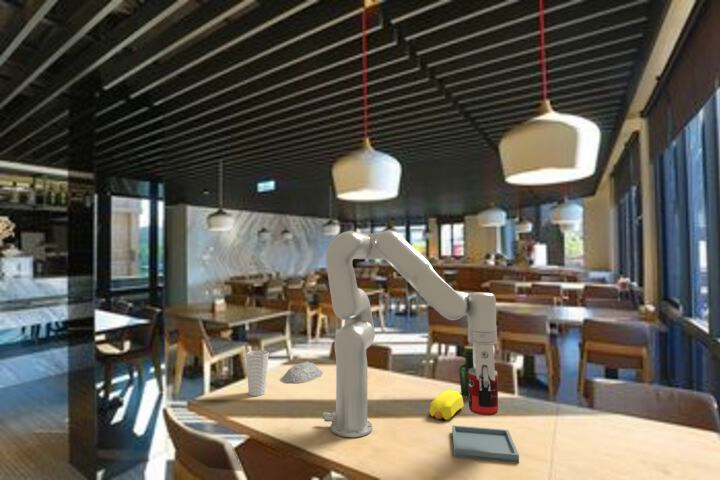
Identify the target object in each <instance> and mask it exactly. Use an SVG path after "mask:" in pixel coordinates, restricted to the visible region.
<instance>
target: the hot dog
mask: <svg viewBox="0 0 720 480" xmlns="http://www.w3.org/2000/svg"><path fill="white" fill-rule="evenodd" d="M463 397H464V396H463V395H462V394H461V392H459V391H458V390H451V389H447V390H444V391H442V392H441V393H440V394H439V395H437V396H436V397H435V398H434V399H432V401H431V402H430V405H429V406H430V407H429V414H430V415H431V417H432V418H436V419H437V420H441V419H444V420H445V421H449V420H450V419H451V418H452V417H453V416H454V415H455V414H456V413H457V412H458V411H459V410H461V409H462V408H463V407H464V398H463Z"/></svg>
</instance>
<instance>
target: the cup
mask: <svg viewBox="0 0 720 480" xmlns="http://www.w3.org/2000/svg"><path fill="white" fill-rule="evenodd" d="M269 355H270V352H269V351H267V350H259V349H258V350H250V351H247V352H246V355H245V356H246V369H247V385H248V387H247V388H248V395H249V396H250V397H259V396H263V395H265V394H266V386H267V385H266V384H267V376H268V365H269Z"/></svg>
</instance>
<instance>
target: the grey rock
mask: <svg viewBox="0 0 720 480" xmlns="http://www.w3.org/2000/svg"><path fill="white" fill-rule="evenodd" d="M321 371H322V370H320V369H319V367H318V366H317V365H316V364H315V363H314V362H309V361H308V360H307V361H305V362H299V363H298V364H295V365H293V366H291V367H289V369H288V370H287V371H286V372H284V375H283V377H281V378H280V381H281V383H282V384H292V385H293V384H294V385H296V384H297V385H298V384H305V383H309V382H312V381H314V380H316V379H318V378H321V376H322V375H323V374H324V371H322V372H321ZM317 377H318V378H317Z"/></svg>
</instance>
